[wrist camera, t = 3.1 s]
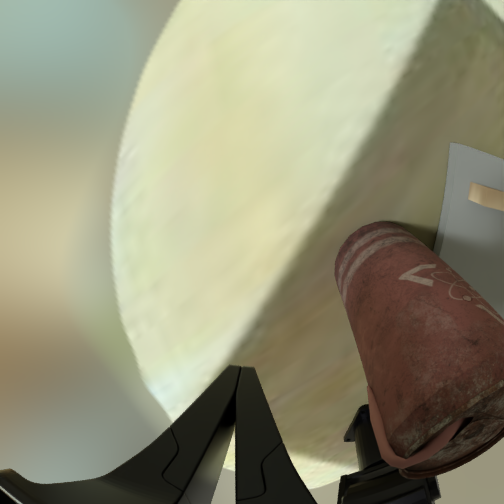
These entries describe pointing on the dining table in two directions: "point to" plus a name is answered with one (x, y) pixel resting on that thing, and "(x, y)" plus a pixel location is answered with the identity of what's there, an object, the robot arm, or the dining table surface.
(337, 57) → the dining table surface
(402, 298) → the can
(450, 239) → the tray
